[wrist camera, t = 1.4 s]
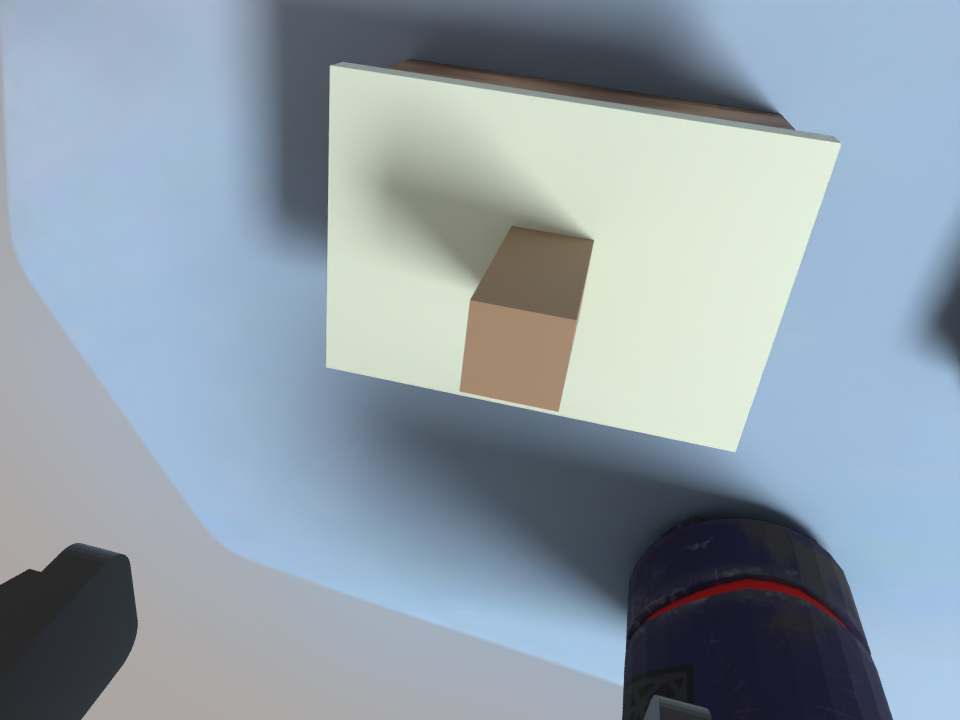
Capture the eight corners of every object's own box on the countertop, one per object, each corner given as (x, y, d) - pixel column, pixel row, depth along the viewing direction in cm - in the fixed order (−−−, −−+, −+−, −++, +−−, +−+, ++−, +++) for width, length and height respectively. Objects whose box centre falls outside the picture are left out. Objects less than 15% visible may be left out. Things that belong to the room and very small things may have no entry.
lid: (830, 132, 25) (909, 203, 17) (731, 427, 30) (757, 579, 23) (348, 60, 27) (228, 93, 19) (341, 348, 33) (246, 462, 25)
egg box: (781, 114, 31) (812, 149, 24) (711, 347, 36) (723, 422, 30) (410, 59, 33) (355, 78, 26) (396, 286, 38) (347, 346, 32)
